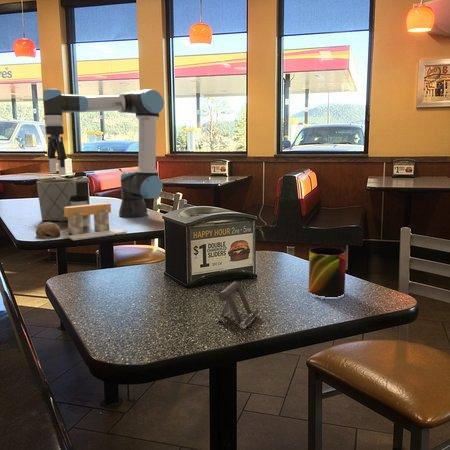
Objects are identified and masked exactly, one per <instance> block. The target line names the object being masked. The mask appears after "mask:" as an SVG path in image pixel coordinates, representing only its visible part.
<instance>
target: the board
mask: <svg viewBox="0 0 450 450" xmlns="http://www.w3.org/2000/svg"><path fill="white" fill-rule="evenodd" d="M127 233H128V231H127V230H125V229H121V228H118V229H117V228H116V229H109V230H108V231H101V232H100V231H94V232H87V233H84V234H78V235H73V234H71V235H67V239H69V240H72V241H79V240H86V239H93V238H94V239H95V238H102V237H108V236H116V235H115V234H117V235H122V234H127Z"/></svg>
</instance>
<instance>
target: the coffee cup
mask: <svg viewBox="0 0 450 450" xmlns="http://www.w3.org/2000/svg"><path fill="white" fill-rule="evenodd" d="M70 201H71V206H79V205H88V201H89V197H88V194H87V193H86V194H76V195H72V196H70ZM84 227H88V215H83V228H84Z"/></svg>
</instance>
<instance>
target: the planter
mask: <svg viewBox="0 0 450 450" xmlns="http://www.w3.org/2000/svg"><path fill="white" fill-rule="evenodd" d="M36 189H37V194H38V196H37V197H38V201H39V202H38V203H39V208H40V216H41V220H42V222H44V221H58V222H60V223H64V222H66V221H67V222H68V217H66V216H64V207H69V206H71V201H70V196H72V195H77V180H76V179H69V178H60V179H59V178H57V179H44V180H43V179H42V180H37V181H36Z"/></svg>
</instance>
